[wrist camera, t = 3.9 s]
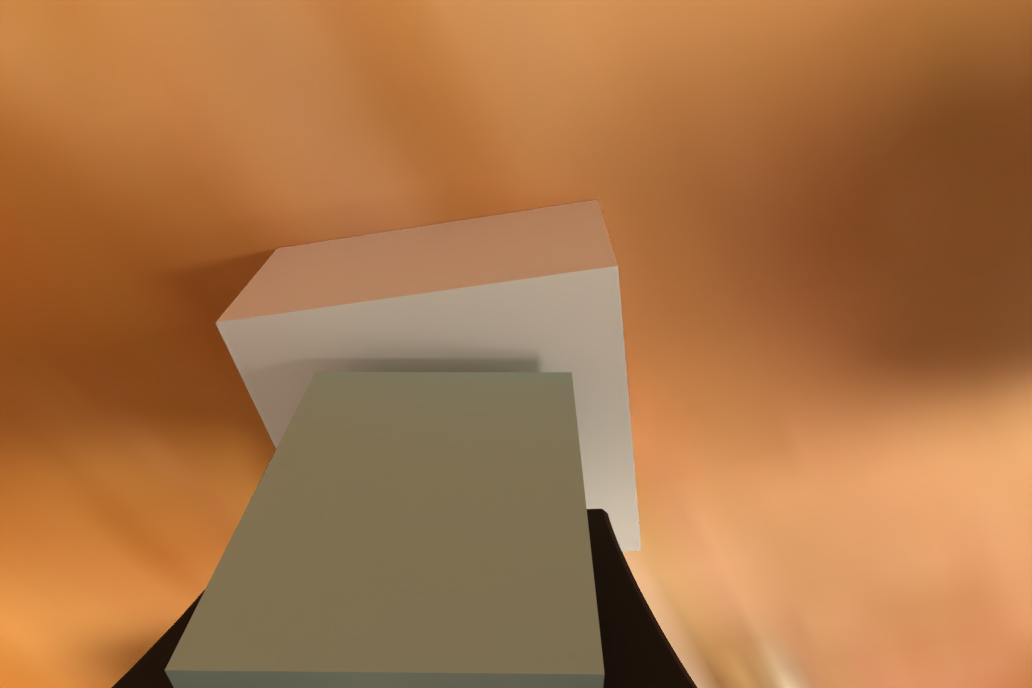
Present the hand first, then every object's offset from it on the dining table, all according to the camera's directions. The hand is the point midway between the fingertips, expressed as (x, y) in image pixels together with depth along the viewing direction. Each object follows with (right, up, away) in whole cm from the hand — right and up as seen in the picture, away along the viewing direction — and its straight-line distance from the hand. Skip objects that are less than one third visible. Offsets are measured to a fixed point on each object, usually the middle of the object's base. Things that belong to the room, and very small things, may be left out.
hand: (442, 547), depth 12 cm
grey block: (0, +4, +6) cm, 7 cm away
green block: (0, +1, +2) cm, 2 cm away
